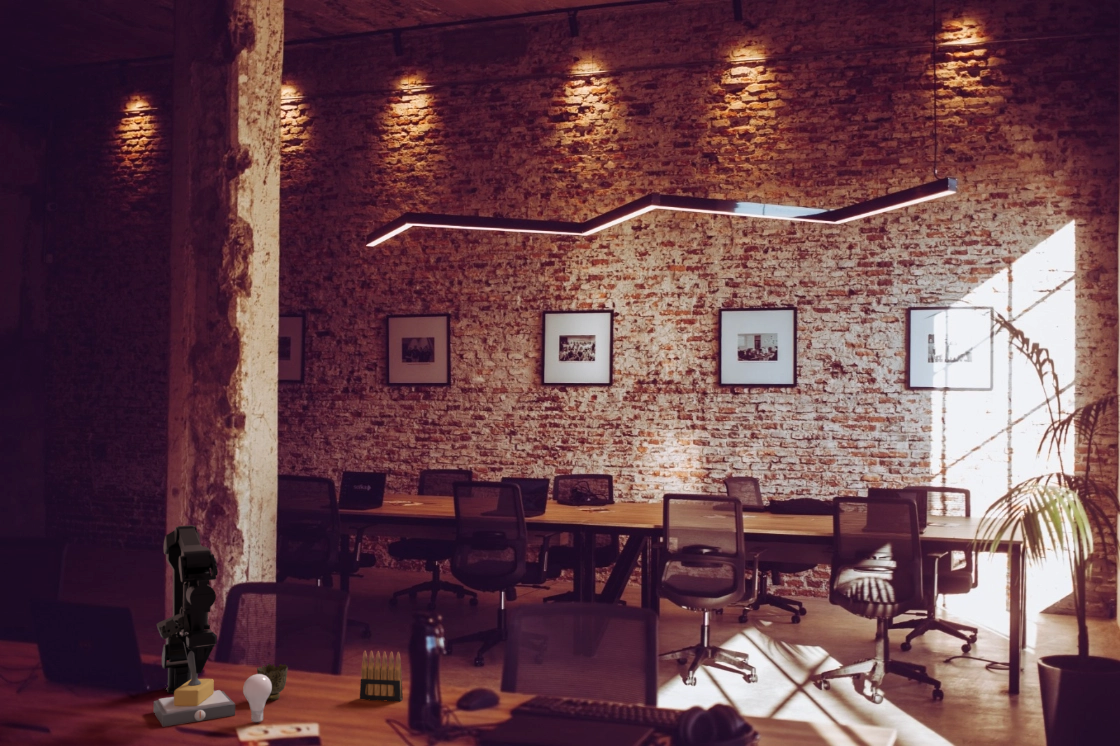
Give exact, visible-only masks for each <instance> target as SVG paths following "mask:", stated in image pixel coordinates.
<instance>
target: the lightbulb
mask: <svg viewBox="0 0 1120 746" xmlns="http://www.w3.org/2000/svg"><path fill="white" fill-rule="evenodd" d="M271 691H272V684H271V681H270V679H269V678H268V677H267V676H265V675H263V674H257V673H256V674H253V675H250V676H249V677H248V678H247V679H246V680H245V681H244V683H243V688H242V693H243V695H244V697H245V699H246V700H247V702H248V705H249V708H250V712H251V714H250V715H251V716H250V719H251V720H250V721H251V722H252V723H255V724H260V723H261V722H262V721H263V720H264V709H265V707H266V706H265V705H266V702H267V701H268V700H267V699H268V697H269V695H270V693H271Z"/></svg>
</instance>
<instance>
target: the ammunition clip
mask: <svg viewBox="0 0 1120 746" xmlns="http://www.w3.org/2000/svg"><path fill="white" fill-rule="evenodd" d="M375 655H376V656H375V657H374V653H373V650H370V652H369V656H368V655H367V651H366V649H365V650H364V651H363V653H362V663H361V673H360V674H361V678H360V685H359V686H360V688H359V700H360V699H370V700H369V701H376V700H381V702H385V701H384V700H387V701H386V702H395V701H399V702H398V703H400V702H402V701H403V679H402V665H401V663H402V662H401V661H402V659H401V654H400V651H397V653H396V656H395V659H394V653H393V651H390V653H389V656H388V657H389V658H388V657H387V653H386V651H385V650H384V651H383V653H382V658H381V653H380V651H379V650H377V651H376V654H375ZM381 659H382V661H381ZM394 661H395V662H394Z"/></svg>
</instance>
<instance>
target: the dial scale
mask: <svg viewBox="0 0 1120 746" xmlns="http://www.w3.org/2000/svg"><path fill="white" fill-rule="evenodd" d="M154 713H155V714H154ZM153 714H154V715H155V717H156V719H157V720H158V722H159V723H160V725H161V726H162V727H163V728H164V727H170V726H175V725H182V724H187V723H195V722H201V721H208V720H214V719H220V718H225V717H226V718H228V717H231V716H236V703H235V702H234V701H233V700H232V699H231V698H230V697H229V696H228V694H226V693H225V691H224V690H222V691H221V690H220V689H218V690H214V693H213V694H212V695H211V696H209V697H208V698H207V699H206V700H204V701H203V702H202V703H200V704H199V705H198V706H175V705H174V696H171V697H163V698H158V700H153Z"/></svg>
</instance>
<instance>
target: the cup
mask: <svg viewBox="0 0 1120 746" xmlns="http://www.w3.org/2000/svg"><path fill="white" fill-rule="evenodd" d="M288 670H289V665H286V663H284V664H282V663H279V665H278V666H275V663H272V664H271V663H268V664H267V665H266V666H265V665H264V664H262V667H261V666H260V665H259V667H257V668H256V671H257V673H256V674H263V675H265V676H267V677H268V678H269V679H270V681H271V684H272V691H271V693H270V695H269V697H268V699H267V700H266V701H271V702H272V701H276V700H278V699H279V698H280V696H281V695H280V694H281V692H282V691H283V690H284V689H285V686H286V683H287V678H288V677H287V676H288Z"/></svg>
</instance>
